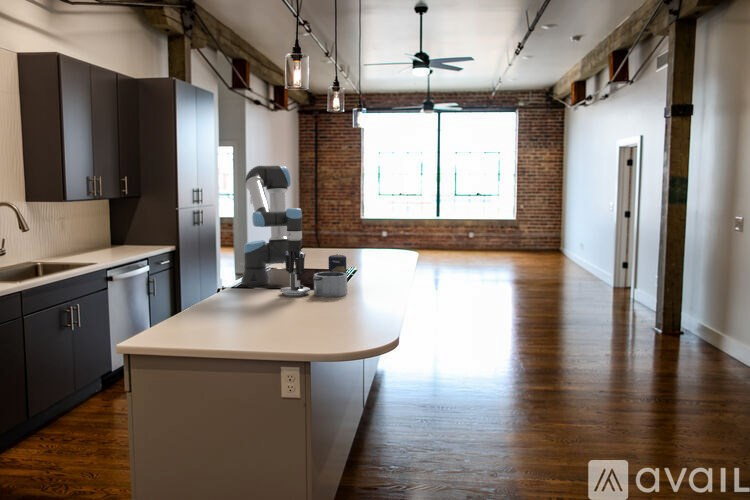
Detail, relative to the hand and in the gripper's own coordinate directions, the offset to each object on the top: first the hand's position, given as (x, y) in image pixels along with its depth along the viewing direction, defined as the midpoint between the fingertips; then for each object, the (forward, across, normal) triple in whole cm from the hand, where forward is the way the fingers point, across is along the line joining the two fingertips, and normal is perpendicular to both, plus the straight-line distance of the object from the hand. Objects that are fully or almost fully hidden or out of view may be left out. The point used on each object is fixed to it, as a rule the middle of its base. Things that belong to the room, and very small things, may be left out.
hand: (295, 286), depth 301 cm
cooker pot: (+4, +13, +12) cm, 18 cm away
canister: (+4, +3, +28) cm, 28 cm away
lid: (+4, 0, 0) cm, 4 cm away
